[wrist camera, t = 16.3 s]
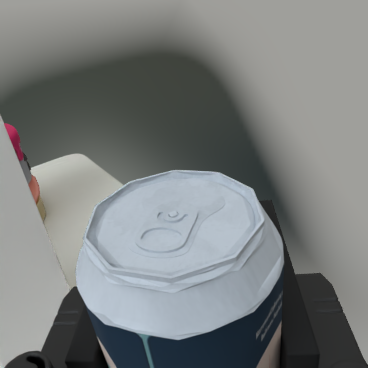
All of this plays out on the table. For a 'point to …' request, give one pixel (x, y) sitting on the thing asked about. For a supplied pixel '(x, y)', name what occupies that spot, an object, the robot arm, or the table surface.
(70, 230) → the table surface
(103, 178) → the table surface
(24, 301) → the milk
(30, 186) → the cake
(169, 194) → the beer can
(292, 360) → the robot arm
